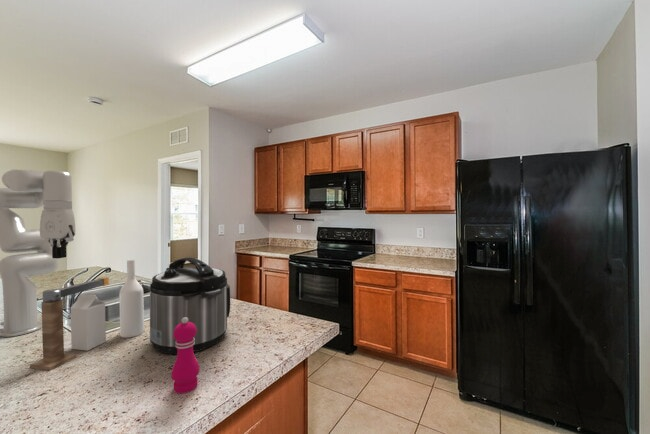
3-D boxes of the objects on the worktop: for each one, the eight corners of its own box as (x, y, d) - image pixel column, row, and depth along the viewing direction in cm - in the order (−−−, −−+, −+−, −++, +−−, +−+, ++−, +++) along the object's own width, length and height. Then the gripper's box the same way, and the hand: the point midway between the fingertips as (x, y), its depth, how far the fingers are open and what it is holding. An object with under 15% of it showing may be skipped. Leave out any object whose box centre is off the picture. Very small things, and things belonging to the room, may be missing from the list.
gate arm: (50, 302, 93) (49, 293, 93) (38, 301, 94) (38, 292, 94) (110, 284, 114) (110, 277, 114) (100, 284, 115) (100, 276, 115)
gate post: (50, 370, 92) (48, 305, 91) (29, 367, 93) (27, 304, 92) (76, 357, 100) (74, 297, 99) (56, 355, 101) (55, 296, 100)
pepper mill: (177, 379, 87) (177, 313, 86) (203, 378, 87) (202, 312, 87) (166, 395, 80) (165, 322, 79) (194, 394, 80) (193, 321, 80)
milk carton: (87, 351, 104) (86, 298, 103) (71, 349, 105) (69, 296, 105) (106, 342, 111) (105, 292, 110) (90, 340, 112) (89, 291, 112)
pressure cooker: (232, 351, 104) (231, 262, 103) (140, 365, 95) (138, 268, 94) (229, 320, 132) (228, 250, 131) (158, 329, 123) (157, 254, 122)
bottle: (129, 329, 123) (128, 257, 122) (148, 329, 123) (147, 258, 122) (115, 337, 115) (113, 261, 114) (134, 338, 114) (133, 261, 113)
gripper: (28, 206, 101) (30, 258, 102) (64, 206, 99) (66, 260, 99) (52, 206, 109) (53, 255, 109) (86, 206, 106) (87, 256, 107)
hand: (59, 257), depth 104 cm, fingers closed
